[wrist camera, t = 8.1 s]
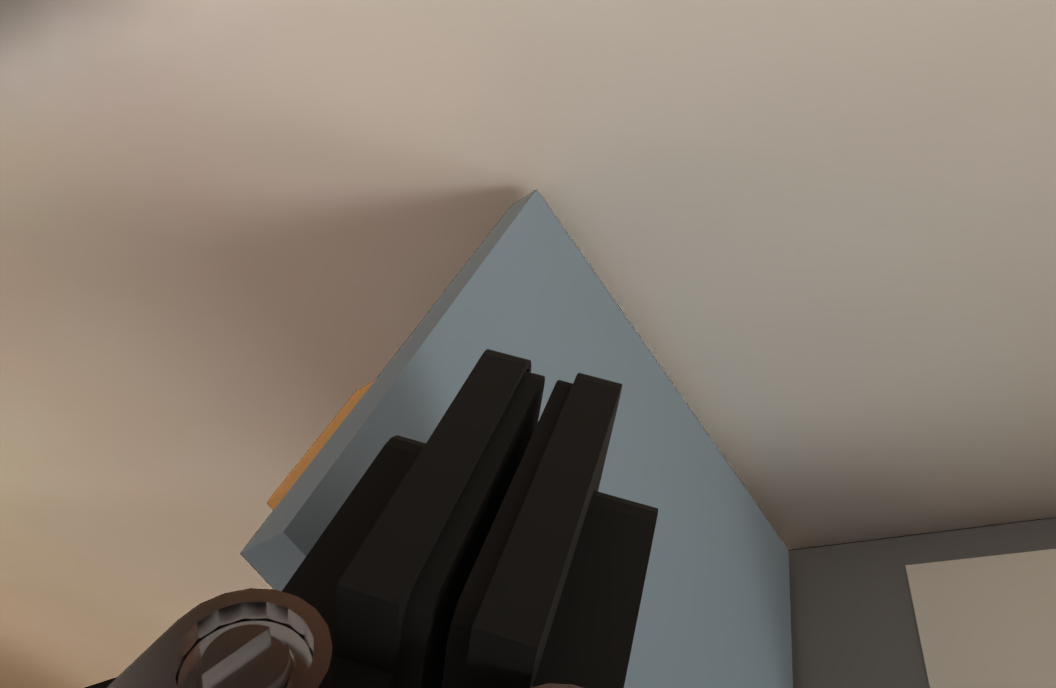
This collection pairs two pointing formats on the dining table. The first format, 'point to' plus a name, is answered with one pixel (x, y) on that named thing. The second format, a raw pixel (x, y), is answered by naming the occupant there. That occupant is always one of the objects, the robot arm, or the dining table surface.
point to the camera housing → (928, 610)
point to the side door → (629, 471)
